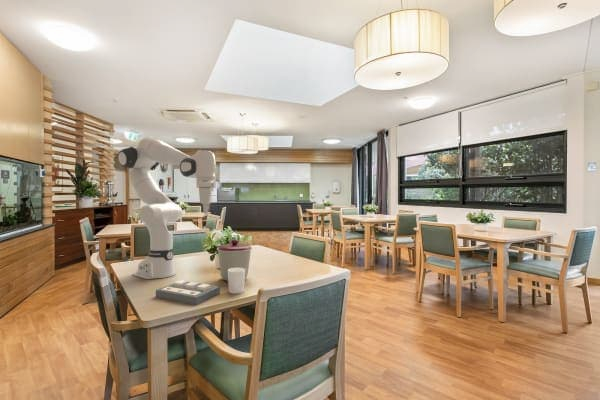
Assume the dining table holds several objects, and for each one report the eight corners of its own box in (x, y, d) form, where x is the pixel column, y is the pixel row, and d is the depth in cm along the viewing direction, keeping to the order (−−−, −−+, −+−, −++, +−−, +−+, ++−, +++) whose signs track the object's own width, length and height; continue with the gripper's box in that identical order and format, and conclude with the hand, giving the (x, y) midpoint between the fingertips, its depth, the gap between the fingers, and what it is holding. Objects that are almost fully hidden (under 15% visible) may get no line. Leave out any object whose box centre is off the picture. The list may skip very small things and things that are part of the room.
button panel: (155, 297, 125) (155, 289, 125) (181, 286, 139) (181, 279, 139) (196, 304, 117) (196, 296, 117) (219, 293, 131) (220, 285, 131)
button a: (173, 288, 132) (173, 282, 131) (180, 285, 135) (180, 280, 135) (180, 289, 130) (180, 283, 130) (187, 286, 134) (187, 281, 134)
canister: (243, 285, 143) (244, 242, 143) (209, 282, 147) (210, 240, 147) (256, 275, 161) (257, 237, 161) (226, 273, 165) (226, 236, 164)
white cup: (246, 288, 139) (246, 267, 139) (243, 294, 131) (243, 272, 131) (229, 288, 138) (229, 267, 138) (225, 294, 131) (226, 271, 130)
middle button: (184, 290, 129) (185, 284, 129) (191, 287, 133) (191, 281, 133) (192, 291, 128) (192, 285, 128) (198, 288, 131) (198, 283, 131)
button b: (196, 292, 127) (196, 286, 127) (203, 289, 130) (203, 283, 130) (204, 293, 125) (204, 287, 125) (210, 290, 129) (210, 284, 129)
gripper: (201, 184, 148) (201, 212, 148) (197, 183, 128) (197, 214, 129) (214, 185, 150) (214, 212, 150) (211, 183, 130) (212, 214, 130)
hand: (206, 213), depth 139 cm, fingers open, 8 cm apart
